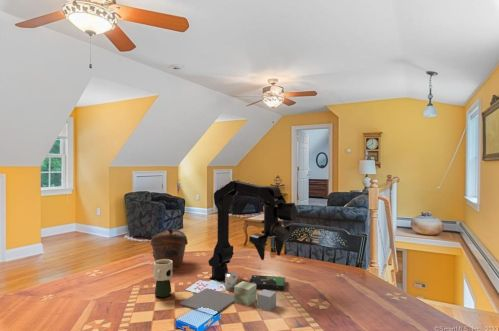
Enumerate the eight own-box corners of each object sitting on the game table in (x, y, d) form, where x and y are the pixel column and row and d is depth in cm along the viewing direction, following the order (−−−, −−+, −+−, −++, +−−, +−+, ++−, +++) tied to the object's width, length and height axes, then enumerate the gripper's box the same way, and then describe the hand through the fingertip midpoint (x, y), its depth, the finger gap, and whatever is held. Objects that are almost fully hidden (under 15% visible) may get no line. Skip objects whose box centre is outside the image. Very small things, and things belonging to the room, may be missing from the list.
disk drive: (248, 290, 128) (284, 292, 125) (248, 283, 128) (284, 285, 125) (251, 281, 138) (285, 282, 136) (251, 274, 138) (285, 276, 136)
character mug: (166, 301, 115) (167, 266, 115) (148, 300, 116) (148, 266, 116) (176, 290, 126) (176, 258, 126) (159, 289, 127) (159, 257, 127)
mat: (178, 304, 113) (178, 303, 113) (206, 289, 127) (206, 288, 127) (214, 315, 105) (214, 313, 105) (239, 298, 119) (239, 296, 119)
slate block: (257, 308, 111) (257, 294, 111) (263, 302, 115) (263, 289, 115) (269, 311, 108) (269, 297, 108) (276, 305, 113) (276, 292, 112)
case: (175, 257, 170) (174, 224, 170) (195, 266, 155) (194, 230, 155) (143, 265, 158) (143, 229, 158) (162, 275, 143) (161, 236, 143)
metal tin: (222, 289, 127) (222, 274, 127) (229, 285, 131) (229, 271, 131) (232, 292, 124) (233, 277, 124) (239, 287, 129) (239, 273, 129)
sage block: (234, 302, 115) (234, 286, 115) (242, 296, 120) (242, 281, 120) (248, 306, 112) (248, 289, 112) (256, 300, 117) (256, 284, 117)
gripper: (269, 224, 111) (269, 268, 111) (302, 218, 124) (301, 257, 124) (248, 219, 119) (248, 260, 119) (281, 214, 132) (280, 251, 132)
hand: (270, 257), depth 123 cm, fingers open, 9 cm apart
